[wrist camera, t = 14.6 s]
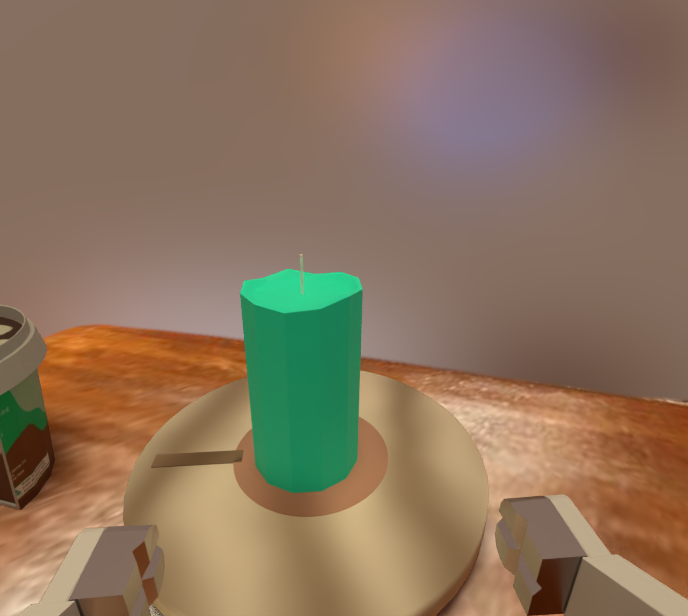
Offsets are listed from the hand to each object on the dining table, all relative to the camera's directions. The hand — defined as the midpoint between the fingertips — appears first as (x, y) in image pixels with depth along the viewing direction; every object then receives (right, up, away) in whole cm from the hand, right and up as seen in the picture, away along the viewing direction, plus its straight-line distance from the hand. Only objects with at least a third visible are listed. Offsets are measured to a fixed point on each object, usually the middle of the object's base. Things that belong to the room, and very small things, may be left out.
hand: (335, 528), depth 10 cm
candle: (-2, -4, +15) cm, 15 cm away
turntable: (-2, -5, +15) cm, 16 cm away
